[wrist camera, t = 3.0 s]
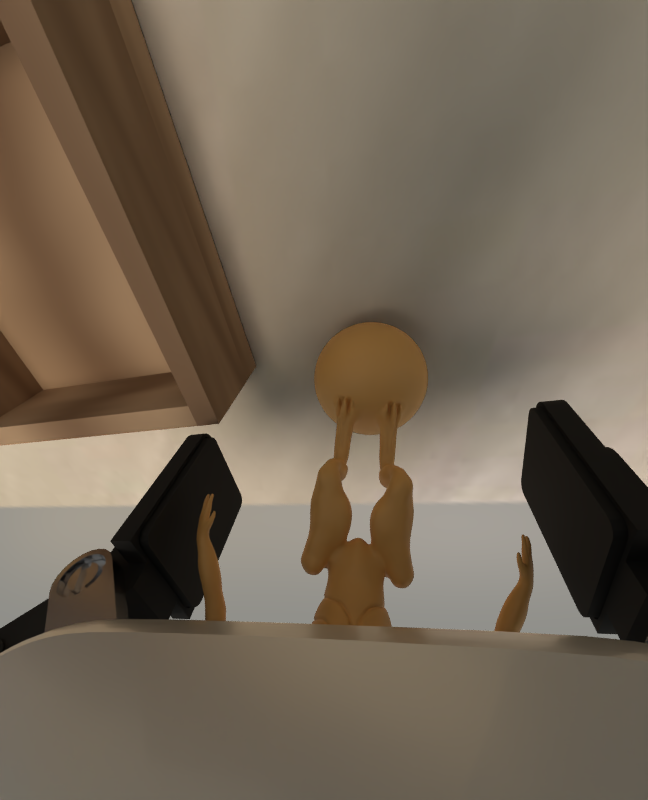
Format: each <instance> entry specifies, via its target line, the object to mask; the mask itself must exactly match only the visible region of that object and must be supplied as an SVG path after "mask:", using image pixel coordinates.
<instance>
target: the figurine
mask: <svg viewBox="0 0 648 800" xmlns="http://www.w3.org/2000/svg"><path fill="white" fill-rule="evenodd" d="M314 383H315V390H316V394H317V397H318V400H319V402H320V404H321V406H322V408H323V410H324V411H325V412H326V414H327V415H328V416H329V417H330V418H331V419H332V420H333V421H334V422H335V423H337V429H336V438H335V448H334V458H332V459H329V460H328V461H327V462H326V463H325V464H324V465H323V466H322V467H321V468H320V470H319V472H318V476H317V481H316V485H315V488H314V491H313V495H312V499H311V509H310V531H309V536H308V539H307V542H306V545H305V548H304V551H303V554H302V558H301V563H302V566H303V568H304V570H305V571H306V572H307V573H308V574H311V575H317V574H319V573H320V572H321V571H322V569H323V568H327V569H328V582H327V586H326V590H325V594H324V596H325V598H324V599H323V600H322V602H321V603H320V605H319V607H318V609H317V611H316V613H315V616H314V620H315V621H313V622H312V624H328V625H355V626H383V627H392V626H391V622H390V618H389V615H388V612H387V610H386V609H385V608H384V592H383V582H384V577H388V578H389V579H390V580H391V582H392V583H393V584H394V585H395V586H396V587H398V588H406V587H407V586H409V585H410V584H411V582H412V581H413V578H414V571H413V566H412V561H411V555H410V537H411V530H412V524H413V513H414V509H413V497H412V492H413V484H412V480H411V479H410V477H409V476H408V475H407V473H406V472H405V471H404V470H403V469H402V468H400V467H398V466H395V465H394V459H395V448H396V434H397V428H399V427H400V426H402V425H404V424H405V423H406V422H407V421H409V420H410V419H411V418H412V417H413V416H414V415H415V413H416V412H417V411H418V409H419V408H420V406H421V404H422V402H423V400H424V397H425V394H426V391H427V385H428V371H427V366H426V362H425V359H424V356H423V354H422V352H421V350H420V349H419V347H418V346H417V344H416V343H415V342H414V341H413V340H412V339H411V338H410V337H409V336H408V335H407V334H406V333H404V332H403V331H401V330H400V329H398V328H396V327H393V326H391V325H388V324H384V323H378V322H365V323H359V324H355V325H352V326H350V327H347V328H345V329H344V330H342V331H340V332H339V333H337V334H336V335H335V336H334V337H333V338H332V339H331V340H330V341H329V342H328V343H327V344H326V345H325V347H324V348H323V350H322V352H321V353H320V356H319V358H318V360H317V364H316V368H315V375H314ZM352 432H355V433H358V434H364V435H377V434H380V454H379V460H380V472H379V480H380V483H381V484H382V485H383V486H384V487H386V488H387V490H386V492H385V494H384V495H383V497H382V498H381V499H380V500H379V501H378V502H377V503H376V504H375V506H374V508H373V510H372V513H371V518H370V533H371V544H367V543H366V542H365V541H364V540H363V539H361V538H355V539H353V540H351V541H349V542H348V541H347V535H348V533H349V530H350V526H351V520H352V510H351V505H350V502H349V500H348V498H347V496H346V494H345V492H344V490H343V487H342V483H341V481H342V480H343V479H344V478H345V477H346V475H347V471H348V467H347V465H346V463H347V460H348V456H349V450H350V442H351V436H352ZM209 497H210V498H209ZM213 497H214V494H211V496H210V495H209V494H208V495H207V496H206V498H205V500H204V503H203V508H202V511H201V514H200V518H199V523H198V529H197V549H198V570H199V575H200V579H201V584H202V588H203V593H204V598H205V621H226V606H225V601H224V597H223V592H222V585H221V584H222V582H221V573H220V568H219V564H218V559H217V556H216V553H215V550H214V548H213V545H212V543H211V541H210V538H209V530H210V528H211V526H212V524H213V521H214V518H215V514H216V512H215V511H214V512H213V513H212V515H211V516H210V513H211V508H212V501H213ZM209 517H210V518H209ZM531 554H532V552H531V543H530V540H529V538H528V537H527V536H526V537H525V536H524V535H522V557H521V555H520V553H519V552H518V553H517V563H518V568H519V572H520V578H519V581H518V583H517V585H516V586H515V587H514V589H513V590H512V592H511V593H510V594H509V596H508V597H507V599H506V601H505V603H504V605H503V607H502V609H501V612H500V614H499V617H498V619H497V623H496V627H495V631H503V632H520V630H521V628H522V626H523V624H524V621H525V619H526V616H527V611H528V605H529V600H530V596H531V593H532V589H533V561H532V555H531Z"/></svg>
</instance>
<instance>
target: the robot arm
mask: <svg viewBox="0 0 648 800" xmlns="http://www.w3.org/2000/svg"><path fill="white" fill-rule="evenodd" d="M521 485H522V490H523V493H524V496H525V498H526V500H527V502H528V504H529V506H530V508H531V511H532V513H533V515H534V517H535V519H536V521H537V523H538V525H539V528H540V530H541V532H542V534H543V536H544V538H545V540H546V543H547V545H548V547H549V549H550V551H551V553H552V555H553V557H554V559H555V561H556V564H557V566H558V568H559V570H560V572H561V574H562V577H563V579H564V581H565V583H566V585H567V587H568V589H569V592H570V594H571V596H572V598H573V600H574V602H575V604H576V606H577V608H578V610H579V612H580V614H581V615H582V616H583V617H590V619H591V621H592V623H593V625H594V627H595V629H596V631H597V633H601V634H618V636H619V638H620V640H617V639H608V638H598V637H587V636H573V635H572V636H571V635H555V634H537V633H520V632H503V631H479V630H455V629H431V628H407V627H383V626H355V625H328V624H299V623H271V622H238V621H237V622H236V621H205V620H204V621H203V620H169V617H170V616H171V617H172V618H176V619H190V617H191V615H192V612H193V610H194V608H195V607H196V606H198V605H199V604H200V602H201V600H202V598H203V596H204V593H203V588H202V584H201V579H200V575H199V570H198V549H197V529H198V523H199V518H200V514H201V511H202V508H203V503H204V500H205V498H206V496H207V495H208V494H209V495H210V496H211V494H214V497H213V501H212V508H211V513H210V516H211V515H212V513H213V512H214V511H215V512H216V514H215V518H214V521H213V524H212V526H211V528H210V530H209V538H210V541H211V543H212V545H213V548H214V550H215V553H216V556H217V559H218V560H219V557H220V555H221V553H222V550H223V548H224V545H225V543H226V541H227V538H228V536H229V533H230V531H231V529H232V526H233V524H234V522H235V519H236V517H237V514H238V512H239V509H240V507H241V504H242V497H241V494H240V491H239V489H238V487H237V485H236V483H235V481H234V478H233V476H232V474H231V472H230V470H229V468H228V465H227V463H226V461H225V459H224V457H223V455H222V452H221V450H220V448H219V446H218V444H217V442H216V440H215V439H214V438H211V436H210V435H209V434H197V435H190V436H188V437H187V438H186V440H185V441H184V442H183V444H182V445H181V447H180V448H179V449H178V451H177V452H176V453H175V455H174V456H173V457H172V459H171V460H170V461H169V463H168V464H167V465H166V467H165V468H164V469H163V471H162V472H161V473H160V475H159V476H158V478H157V479H156V480H155V482H154V483H153V484H152V486H151V487H150V488H149V490H148V491H147V492H146V494H145V495H144V496H143V498H142V499H141V500H140V502H139V503H138V505H137V506H136V507H135V509H134V510H133V511H132V513H131V514H130V515H129V517H128V518H127V519H126V521H125V522H124V523H123V525H122V526H121V527H120V529H119V530H118V532H117V533H116V534H115V536H114V537H113V538H112V540H111V543H112V544H113V545H114V546H115V547H114V549H113V551H112V552H109V551H108V550H106V549H97V550H92V551H89V552H87V553H85V554H82V555H81V556H79V557H78V558H76V559H75V560H73V561H72V562H71V563H70V564H68V565H67V566H66V567H65V568H64V569H63V570H62V571H61V572H60V574H59V575H58V576H57V577H56V579H55V581H54V582H53V584H52V586H51V589H50V592H49V599H47V600H45V601H44V602H42V603H41V604H39V605H37V606H36V607H34V608H33V609H31V610H29V611H28V612H26V613H25V614H23V615H21V616H20V617H18V618H17V619H15V620H14V621H12V622H10V623H9V624H7V625H5V626H4V627H2V628H0V800H648V487H647V486H646V485H645V484H644V483H643V481H642V480H641V479H640V478H639V477H638V476H637V475H636V474H635V472H634V471H633V470H632V469H631V468H630V467H629V466H628V465H627V463H626V462H625V461H624V460H623V459H622V458H621V457H620V455H619V454H618V453H617V452H615V451H614V450H613V449H611V448H609V447H605V446H604V445H603V444H602V443H601V441H600V440H599V439H598V438H597V437H596V436H595V434H594V433H593V432H592V431H591V430H590V429H589V428H588V426H587V425H586V424H585V423H584V422H583V421H582V419H581V418H580V417H579V416H578V415H577V414H576V412H575V411H574V410H573V409H572V408H571V407H570V405H569V404H568V403H567V402H566V401H565V400H556V401H545V402H539V403H538V404H537V406H536V408H531V409H530V411H529V417H528V426H527V435H526V443H525V452H524V461H523V469H522V478H521ZM209 498H210V497H209ZM209 518H210V517H209Z"/></svg>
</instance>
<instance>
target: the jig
mask: <svg viewBox="0 0 648 800" xmlns="http://www.w3.org/2000/svg"><path fill="white" fill-rule="evenodd" d="M255 367H256V365H255V362H254V359H253V356H252V353H251V350H250V347H249V344H248V341H247V338H246V335H245V332H244V329H243V327H242V324H241V321H240V318H239V315H238V312H237V309H236V306H235V303H234V300H233V297H232V294H231V291H230V289H229V286H228V283H227V280H226V277H225V274H224V271H223V268H222V265H221V262H220V259H219V256H218V253H217V250H216V248H215V245H214V242H213V239H212V236H211V233H210V230H209V227H208V224H207V221H206V218H205V215H204V212H203V209H202V207H201V204H200V201H199V198H198V195H197V192H196V189H195V186H194V183H193V180H192V177H191V174H190V171H189V169H188V166H187V163H186V160H185V157H184V154H183V151H182V148H181V145H180V142H179V139H178V136H177V133H176V130H175V128H174V125H173V122H172V119H171V116H170V113H169V110H168V107H167V104H166V101H165V98H164V95H163V92H162V89H161V87H160V84H159V81H158V78H157V75H156V72H155V69H154V66H153V63H152V60H151V57H150V54H149V51H148V49H147V46H146V43H145V40H144V37H143V34H142V31H141V28H140V25H139V22H138V19H137V16H136V13H135V10H134V8H133V5H132V2H131V0H0V445H10V444H20V443H30V442H40V441H50V440H60V439H70V438H80V437H90V436H100V435H110V434H120V433H130V432H140V431H150V430H160V429H170V428H180V427H190V426H200V425H210V424H219V423H220V421H221V420H222V418H223V417H224V415H225V414H226V412H227V410H228V409H229V407H230V406H231V404H232V403H233V401H234V400H235V398H236V397H237V395H238V394H239V392H240V390H241V389H242V387H243V386H244V384H245V383H246V381H247V380H248V378H249V377H250V375H251V374H252V372H253V370H254V369H255Z"/></svg>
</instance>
